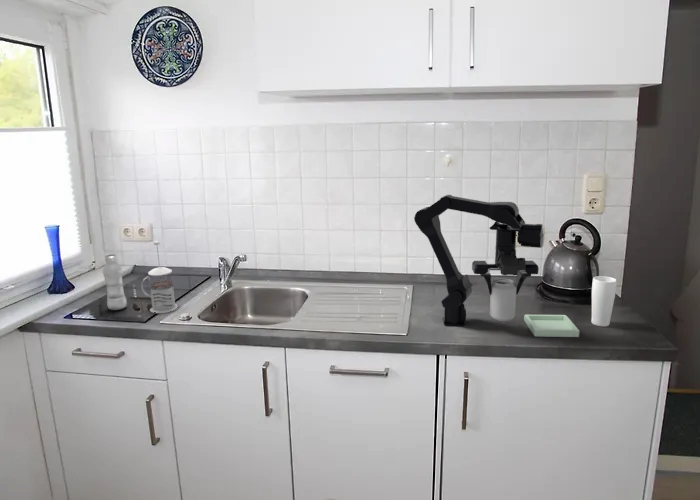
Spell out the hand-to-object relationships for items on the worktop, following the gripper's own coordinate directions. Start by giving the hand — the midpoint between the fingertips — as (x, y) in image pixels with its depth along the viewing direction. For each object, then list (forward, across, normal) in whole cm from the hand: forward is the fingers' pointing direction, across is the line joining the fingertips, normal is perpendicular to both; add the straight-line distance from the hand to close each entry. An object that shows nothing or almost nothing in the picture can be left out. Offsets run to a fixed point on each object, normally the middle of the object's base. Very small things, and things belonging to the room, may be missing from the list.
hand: (503, 294), depth 159 cm
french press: (+12, -117, +16) cm, 119 cm away
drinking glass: (+12, +32, +6) cm, 35 cm away
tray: (+12, +15, +2) cm, 20 cm away
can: (+8, 0, 0) cm, 8 cm away
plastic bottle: (+12, -133, +15) cm, 134 cm away
